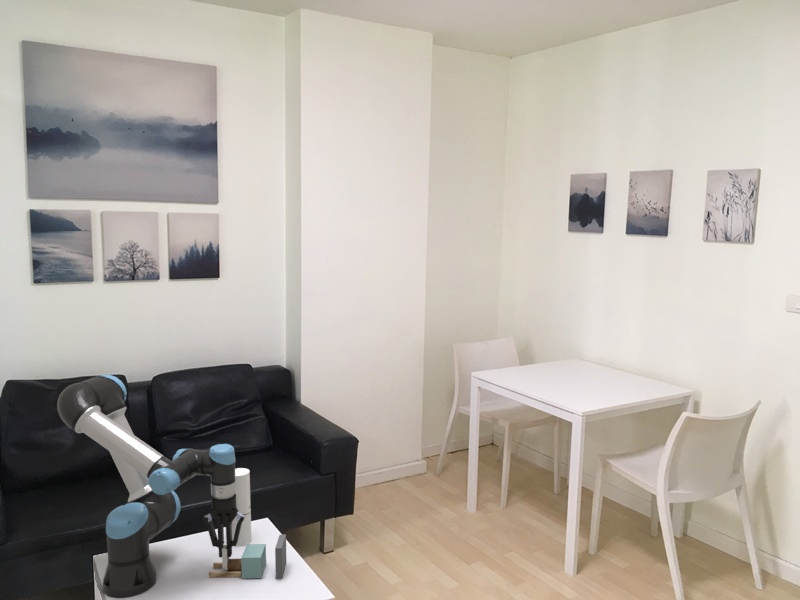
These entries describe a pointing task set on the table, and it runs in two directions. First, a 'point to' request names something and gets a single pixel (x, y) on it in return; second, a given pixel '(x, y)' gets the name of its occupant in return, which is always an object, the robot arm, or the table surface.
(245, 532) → the cylindrical container
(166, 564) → the table surface
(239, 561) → the dowel
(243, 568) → the block
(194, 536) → the table surface
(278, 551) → the wall
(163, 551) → the table surface
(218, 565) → the rails
